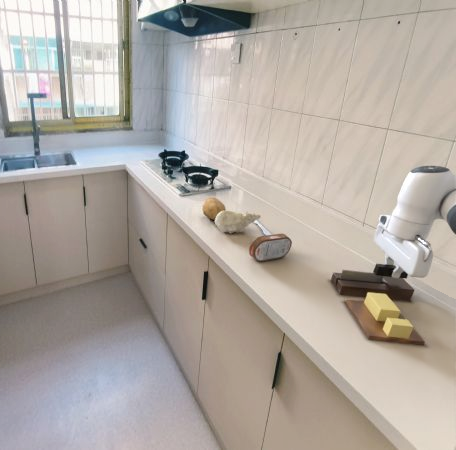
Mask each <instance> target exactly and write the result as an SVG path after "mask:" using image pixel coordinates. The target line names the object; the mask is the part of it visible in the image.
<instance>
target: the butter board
mask: <svg viewBox="0 0 456 450" xmlns="http://www.w3.org/2000/svg"><path fill="white" fill-rule="evenodd" d="M364 302H365V300H355V299H354V300H353V299H345V300H344V304H345V305H346V307H347V309H348V310H349V312H350V313H351V315H352V317H353V318H354V319H355V321H356V323H357V325H358V326H359V328H360V329H361V330H362V332H363V333H364V335H365V337H366V338H367V340H373V341H383V342H392V343H401V344H410V345H420V346H424V345H425V342H426V341H425V340H424V338H422V336H421V335H420V334H419V333H418V332H417V331H416V329H415V328H414V327H413V329H412V332H411V334H410V336H409V339H406V338H397V337H389V336H387V335H386V333H385V332H384V330H383V327H384V324H385V322H384V321H377V320H376V319H375V318H374V316H373V315H372V314H371V312H370V311H369V310H368V308H367V307H366V305H365V304H364ZM398 319H406V317H404V315H403V314H402V313H401V312H400V314H399V317H398Z"/></svg>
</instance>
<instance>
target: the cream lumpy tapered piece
mask: <svg viewBox="0 0 456 450" xmlns="http://www.w3.org/2000/svg"><path fill="white" fill-rule="evenodd" d="M248 212H249V211H246V213H241V212H235V211H230V210H226V211H221V212H220V213H219V214H217V216H216V219H215V220H214V224H215V226H216V227H217V228H218V229H219V230H220V231H221V232H223V233H229V234H231V235H232V234H234V233H243V232H244V231H245V230H246V229H247V227H248V226H250V225H251V224H252V223H254V221H255V220H257V221H258V220H260V219H261V216H262V215H260V214H255V213H254V212H252V213H251V212H250V213H251V214H250V213H248Z"/></svg>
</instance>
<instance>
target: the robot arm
mask: <svg viewBox="0 0 456 450" xmlns="http://www.w3.org/2000/svg"><path fill="white" fill-rule="evenodd" d="M396 201H397V202H396V206H395V208H394V209H393V211H392V212H391V214H379V217H378V224H377V226H376V229H375V231H374V236H373V243H374V244H375V245H376V246H377V247H378V248H379V249H381V251H382V252H384V253H385V255H384V263H385V265H395V266H396V268H395V269H394V270H391V273H390V275H391V276H392V277H393V278H399V277H400V275H401V273H402V272H404V271H405V272H406V273H407V274H408V277H411V278H419V279H420V278H421V279H422V278H423V279H424V278H425V277H427V276H428V275H429V272H430V269H431V267H432V262H433V258H434V252H433V251H434V250H433V249H432V244H431V243H430V241H427V239H428V237H429V235H430V232H431V230H432V228H433V225H434V222H435V221H436V220H444V221H445V222H446V223H447V225H448V226H449V228H450V230H451V231H452V233H454V235H456V173H455V174H454V173H453V172H452V171H451V170H450V169H449V168H448V167H445V166H440V165H422V166H418V167H414V168H413V169H412V170H410V171H409V172H408V174H407V175H406V176H405V179H404V181H403V182H402V185H401V188H400V190H399V193H398V194H397V199H396ZM394 263H395V264H394Z"/></svg>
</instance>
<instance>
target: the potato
mask: <svg viewBox="0 0 456 450" xmlns="http://www.w3.org/2000/svg"><path fill="white" fill-rule="evenodd" d="M201 209H202V213H203V215H204V216H205V217H206V218H208V219H209V220H212V221H215V219H216V216H217V214H219V213H220V212H221V211H227V209H226V205H225V204H224V202H222V201H221V200H220V199H218V197H215V196H209V197H206V198H205V199H204V201H203V203H202V208H201Z"/></svg>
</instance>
